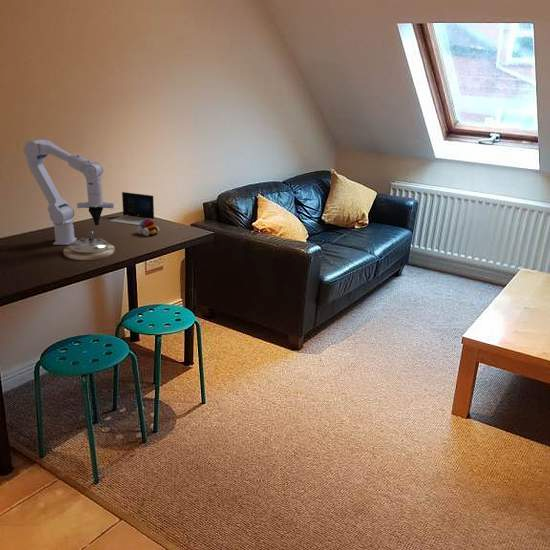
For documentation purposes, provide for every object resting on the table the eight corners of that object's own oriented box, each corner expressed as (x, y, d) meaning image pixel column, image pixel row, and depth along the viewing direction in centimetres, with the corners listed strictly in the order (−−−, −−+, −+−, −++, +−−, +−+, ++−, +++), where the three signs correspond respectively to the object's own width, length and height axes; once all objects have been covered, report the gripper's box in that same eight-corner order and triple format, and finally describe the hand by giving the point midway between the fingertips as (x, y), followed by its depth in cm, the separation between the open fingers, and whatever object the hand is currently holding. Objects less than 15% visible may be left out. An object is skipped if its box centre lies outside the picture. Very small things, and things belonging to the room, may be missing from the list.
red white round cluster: (147, 238, 249) (147, 222, 246) (133, 233, 254) (133, 218, 252) (161, 234, 255) (161, 219, 253) (148, 230, 261) (147, 215, 258)
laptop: (109, 222, 272) (107, 196, 268) (123, 216, 284) (122, 191, 279) (141, 226, 267) (140, 200, 263) (154, 220, 279) (153, 195, 274)
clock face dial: (66, 254, 217) (65, 241, 215) (73, 243, 231) (72, 230, 229) (106, 254, 219) (105, 240, 217) (110, 243, 233) (109, 230, 231)
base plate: (69, 245, 234) (69, 241, 233) (118, 245, 236) (117, 241, 236) (58, 260, 215) (58, 256, 214) (110, 260, 218) (110, 256, 217)
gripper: (74, 194, 222) (77, 227, 226) (111, 195, 224) (113, 227, 228) (78, 191, 228) (80, 222, 233) (113, 191, 230) (115, 222, 235)
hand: (97, 224), depth 231 cm, fingers closed
